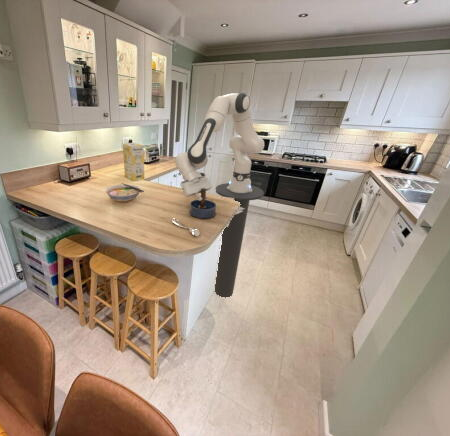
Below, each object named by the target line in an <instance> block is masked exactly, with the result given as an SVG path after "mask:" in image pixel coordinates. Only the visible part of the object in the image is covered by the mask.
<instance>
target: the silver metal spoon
mask: <svg viewBox="0 0 450 436" xmlns="http://www.w3.org/2000/svg"><path fill="white" fill-rule="evenodd" d="M171 222H172V223H173V224H175V226H177V227H180V228H183V229H188V231H189V232H190V233H191V234H192V235H193V236H195V237H199V236H200V233H201V232H200V230H199V229H198V228H197V227H188V226H184V225H183V224H182V223H181V222H180V221H179V219H178V218H176V217H172V218H171Z"/></svg>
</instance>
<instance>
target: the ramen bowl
mask: <svg viewBox="0 0 450 436" xmlns="http://www.w3.org/2000/svg"><path fill="white" fill-rule="evenodd" d="M144 192H145V190H143V189H141V188H140V187H139V186H137V185H134V184H126V183H124V182H123V183H122V184H117V185H112V186H109V187H108V188H106V189H105V193H106V195H108V197H109V198H110V199H111V200H113V201H115V202H120V203H127V202H130V201H132V200H134V199H136V197H138V196H139V194H140V193H144Z"/></svg>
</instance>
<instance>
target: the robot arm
mask: <svg viewBox="0 0 450 436" xmlns="http://www.w3.org/2000/svg"><path fill="white" fill-rule="evenodd" d="M250 104H251V98H250V96H249V95H248V93H245V92H238V93H237V92H236V93H235V92H233V93H228V94H222V95H219V96H216V97H215V98H214V99H213V101H212V103H211V104H210V106H209V108H208V110H207V112H206V115H205V118H204V121H203V123H202V127H201V128H200V131H199V133H198V134H197V137H196V140H195V141H194V143H193V144H192V145H191V146H190V147H188V150H187V152H186V151H182V152H180V153H178V154H177V155H176V157H175V159H174V161H175V162H174V163H175V166H176V168H177V170H178V172H179V173H180V174H181V176H182V177H181V178H182V179H183V180H181V181H180V183H179V184H180V185H179V186H180V188H181V191H182V193H183V195H184V196H185V197H186V198H189V197H192V196H194V197H195V198H196V199H197V200H199V201H201V200H203V198H202V196H201V195H199V194H201V188H206V192H207V191H210V190H211V189H213V185H212V183H211V181H210V178H208V177H207V174H206V173H205V172H201V171H198V170H200V169H202V168H205V166H206V165H207V164H208V155H207V146H208V143H209V142H210V140H211V137H212V135H213V133H218V132H219V131H221V129H222V127H223V126H224V123H225V122H226V119H227V116H228V115H232V121H233V127H234V132H235V133H236V135H233V136H232V137H230V140H229V148H230V149H231V151H232V153H233V155H234V156H233V157H234V169H233V172H232V177H231V178H230V179H229V182H228V183H230V184H229V186H228V187H227V188H226V189H229V190H230V191H232V192H236V193H248V192H252V188H251V185H252V179H251V168H252V160H251V158H249V156H248V154H250V155H257V154H258V155H259V154H261V153H262V152H263V150H264V148H265V140H264V139H263V138H261V137H260V135H259V134H258V133H257V131H256V130H255V128H254V125H253V120H252V113H251V108H250ZM207 199H208V195H207V194H206V195H205V200H207Z"/></svg>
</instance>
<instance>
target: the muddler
mask: <svg viewBox="0 0 450 436" xmlns="http://www.w3.org/2000/svg"><path fill="white" fill-rule="evenodd" d="M205 195H207V191H206V188H201V193H200V197H201V196H202V198H203V200H201V201H200V206H198V209H206V206H205V200H206V199H205Z"/></svg>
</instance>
